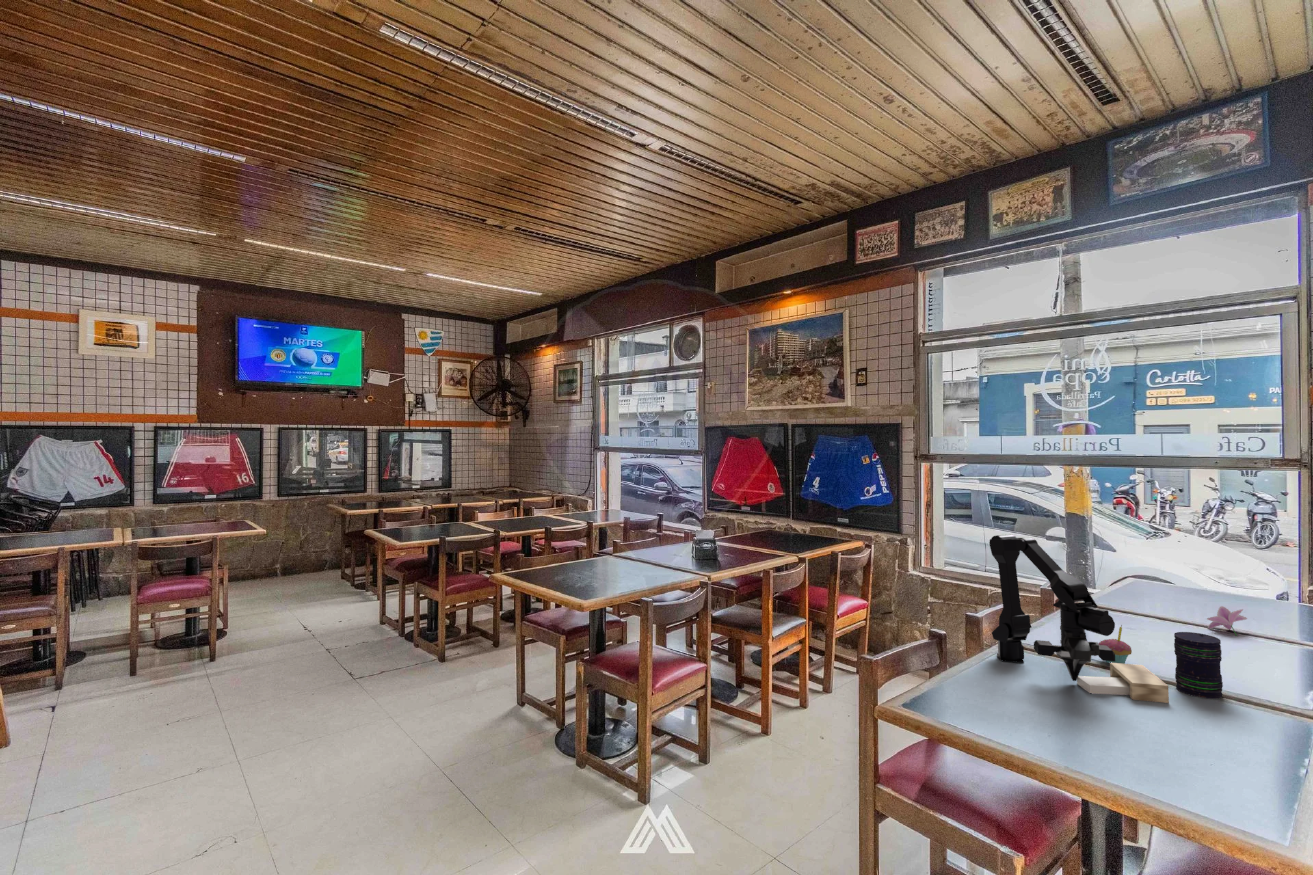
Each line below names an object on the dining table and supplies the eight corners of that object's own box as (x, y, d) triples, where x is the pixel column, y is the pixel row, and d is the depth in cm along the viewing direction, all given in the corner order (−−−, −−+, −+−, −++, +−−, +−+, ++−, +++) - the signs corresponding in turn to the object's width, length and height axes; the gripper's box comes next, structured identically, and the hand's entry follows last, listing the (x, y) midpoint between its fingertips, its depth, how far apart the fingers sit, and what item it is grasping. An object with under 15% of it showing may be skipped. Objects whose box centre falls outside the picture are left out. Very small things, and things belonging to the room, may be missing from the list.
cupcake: (1126, 659, 195) (1124, 621, 195) (1137, 668, 187) (1135, 629, 187) (1094, 656, 198) (1093, 619, 198) (1103, 665, 190) (1102, 626, 190)
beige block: (1132, 699, 165) (1132, 682, 165) (1110, 677, 180) (1109, 662, 180) (1168, 702, 162) (1168, 685, 163) (1143, 680, 178) (1142, 665, 178)
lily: (1255, 636, 218) (1241, 609, 223) (1257, 630, 210) (1243, 602, 215) (1213, 642, 224) (1200, 615, 229) (1213, 636, 216) (1200, 609, 221)
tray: (1090, 694, 170) (1090, 685, 170) (1077, 684, 177) (1076, 675, 177) (1154, 697, 167) (1154, 687, 167) (1139, 687, 174) (1138, 678, 174)
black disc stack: (1212, 701, 163) (1210, 645, 163) (1168, 689, 171) (1166, 635, 172) (1230, 694, 167) (1228, 638, 167) (1185, 682, 176) (1184, 629, 176)
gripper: (1042, 631, 172) (1044, 687, 172) (1122, 636, 166) (1123, 695, 166) (1032, 620, 182) (1033, 673, 182) (1107, 625, 176) (1108, 679, 176)
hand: (1073, 680), depth 176 cm, fingers closed
